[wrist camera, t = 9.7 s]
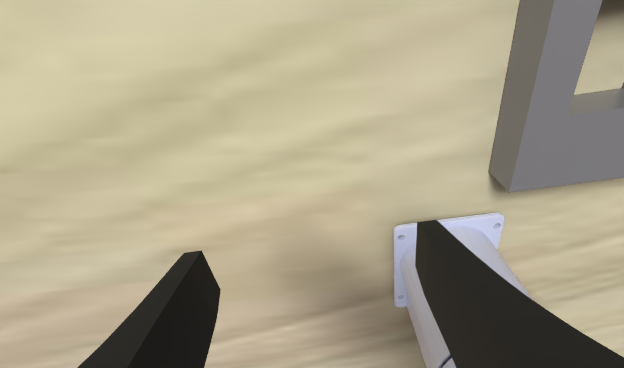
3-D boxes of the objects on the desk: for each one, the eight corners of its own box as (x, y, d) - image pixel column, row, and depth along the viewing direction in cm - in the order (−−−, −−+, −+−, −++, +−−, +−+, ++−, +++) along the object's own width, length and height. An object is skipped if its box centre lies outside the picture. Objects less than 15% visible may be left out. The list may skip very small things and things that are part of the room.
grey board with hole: (628, 152, 21) (665, 172, 18) (488, 171, 21) (509, 192, 19) (777, -179, 13) (873, -211, 10) (545, -134, 13) (591, -157, 11)
